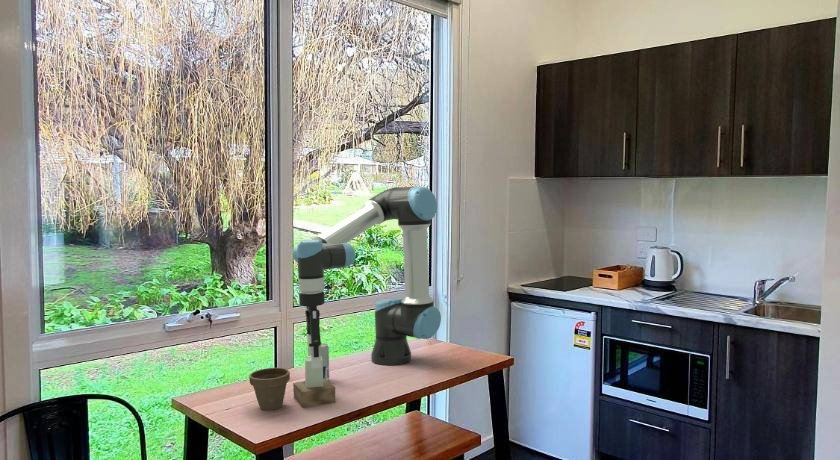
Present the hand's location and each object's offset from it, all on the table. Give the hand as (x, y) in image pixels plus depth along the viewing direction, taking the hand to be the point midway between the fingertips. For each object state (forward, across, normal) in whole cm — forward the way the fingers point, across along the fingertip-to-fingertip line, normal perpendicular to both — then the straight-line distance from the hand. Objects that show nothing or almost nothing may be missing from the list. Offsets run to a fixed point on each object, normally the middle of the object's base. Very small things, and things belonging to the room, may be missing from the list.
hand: (314, 361), depth 180 cm
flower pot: (+12, +2, -13) cm, 18 cm away
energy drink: (+12, -19, +3) cm, 23 cm away
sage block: (+7, 0, 0) cm, 7 cm away
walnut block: (+12, 0, 0) cm, 12 cm away
